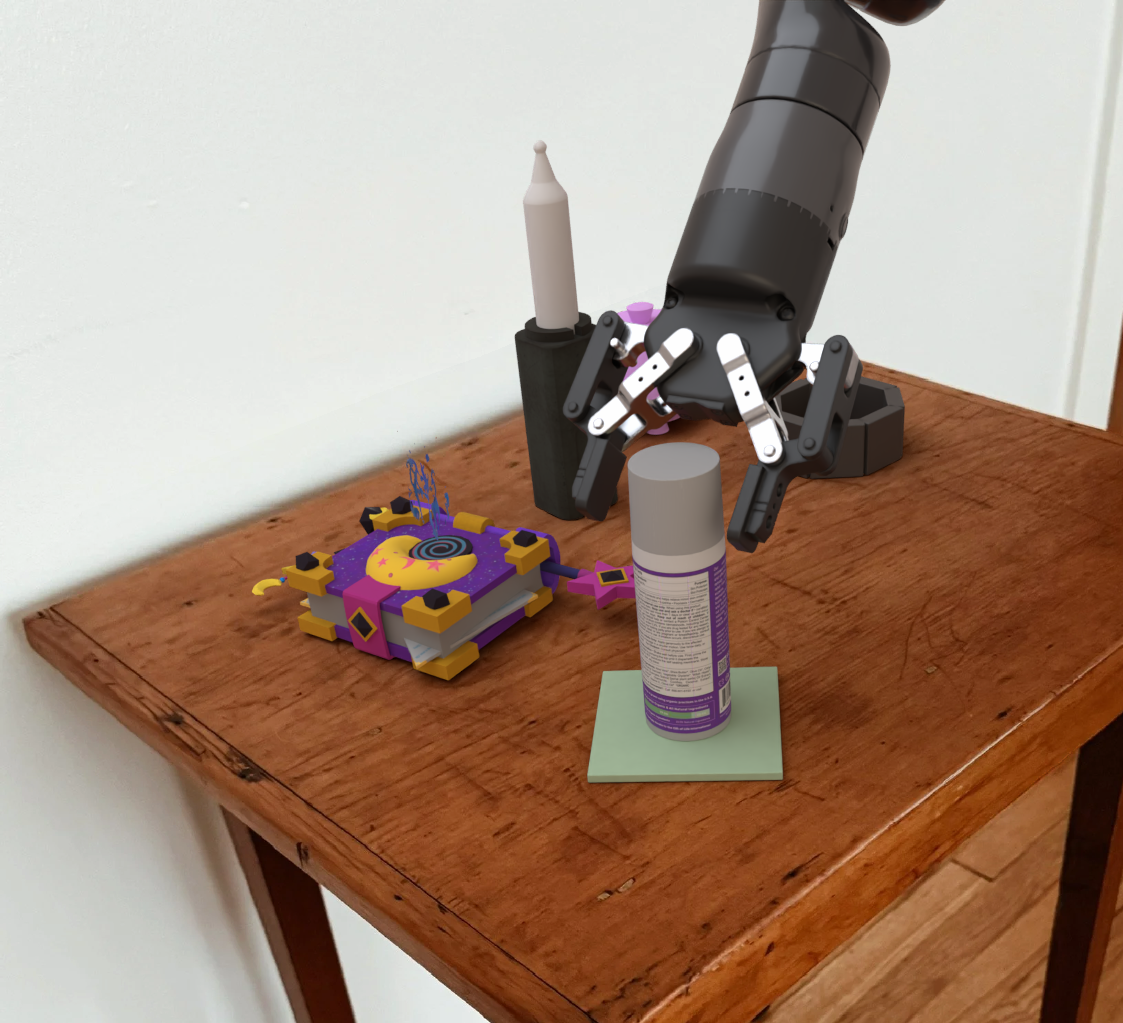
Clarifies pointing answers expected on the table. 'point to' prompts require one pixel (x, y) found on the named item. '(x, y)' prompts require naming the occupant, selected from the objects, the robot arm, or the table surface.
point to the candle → (551, 344)
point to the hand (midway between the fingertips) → (661, 531)
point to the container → (681, 589)
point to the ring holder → (855, 425)
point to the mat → (647, 757)
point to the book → (436, 583)
